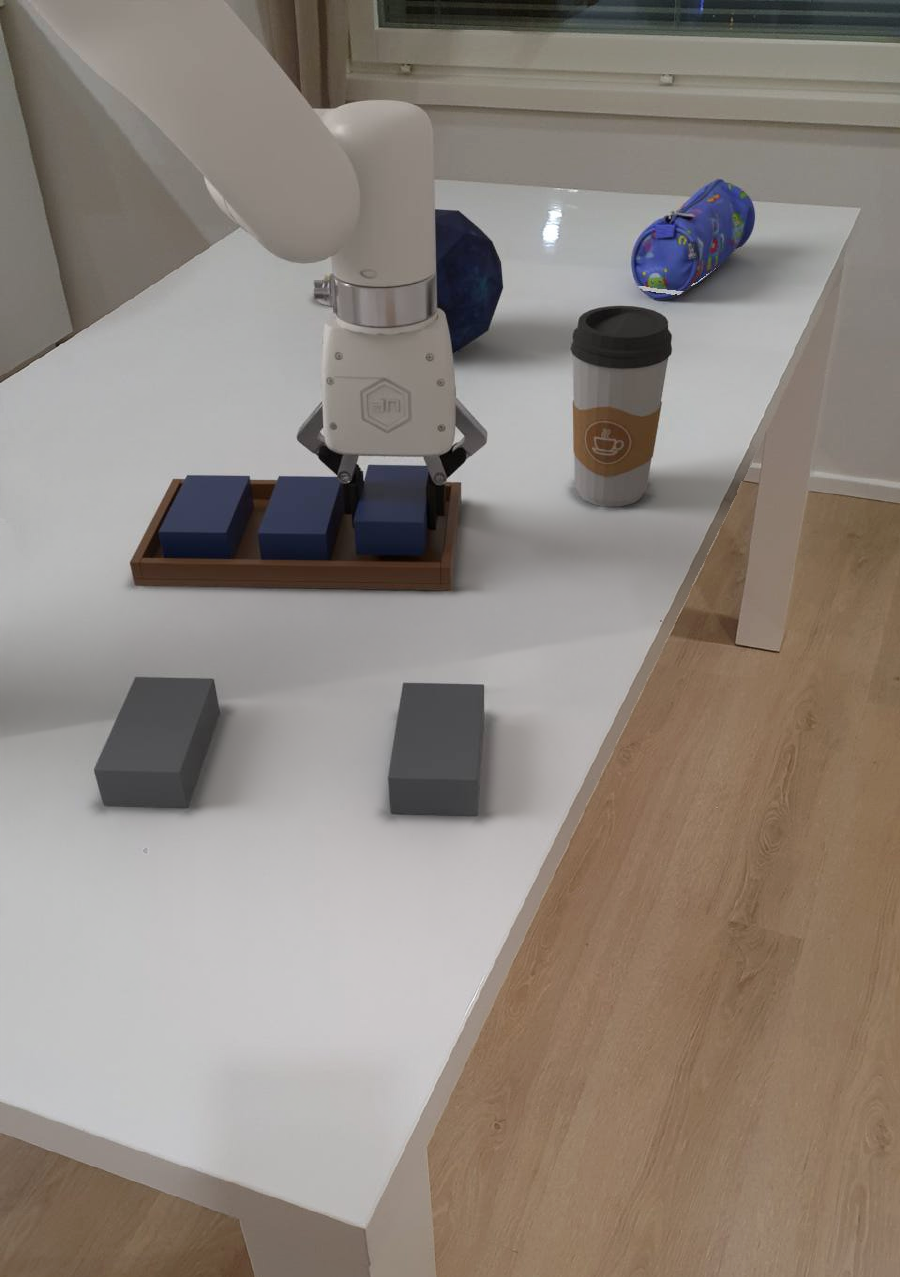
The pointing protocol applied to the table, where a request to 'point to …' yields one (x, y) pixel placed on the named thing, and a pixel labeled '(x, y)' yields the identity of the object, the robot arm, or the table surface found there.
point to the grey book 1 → (158, 742)
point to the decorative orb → (465, 277)
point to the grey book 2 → (437, 750)
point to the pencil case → (692, 239)
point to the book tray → (336, 573)
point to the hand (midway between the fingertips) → (395, 519)
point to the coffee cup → (617, 400)
